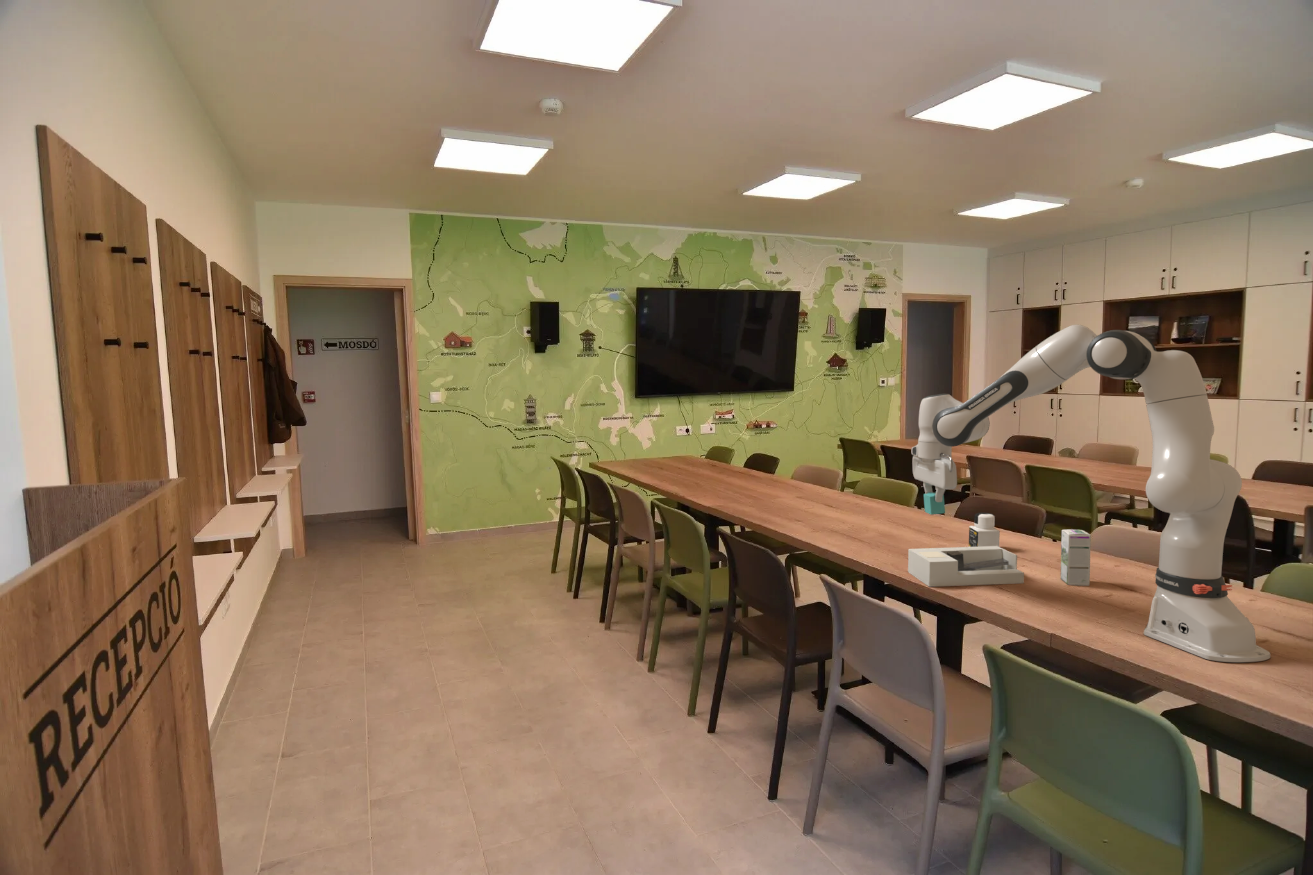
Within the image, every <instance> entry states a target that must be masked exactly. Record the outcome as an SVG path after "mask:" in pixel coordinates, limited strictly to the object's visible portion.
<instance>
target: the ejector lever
mask: <svg viewBox="0 0 1313 875" xmlns="http://www.w3.org/2000/svg"><path fill="white" fill-rule="evenodd" d="M947 555H948V556H950V557H952V558H953V559H955V560H957V561H958V571H965V570H972V569H979V568H987V567H994V566H1002V565H1009V562H1008V561H1007V560H1005V559H996V560H988V561H981V562H973V563H966V564H964V561H963V554H962V553H961V552H959V551H953V552H947Z"/></svg>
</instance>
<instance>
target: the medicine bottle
mask: <svg viewBox="0 0 1313 875" xmlns="http://www.w3.org/2000/svg"><path fill="white" fill-rule="evenodd" d="M995 517H996V516H995V515H994V514H993V513H989V512H977V513H975V514H974V521H973V522H974V523H973V524H974V525H969V527H968V547H981V546H998V547H1000V536H1001V535H1000V534H1001V533H1000V530H999V529H997V528H995V521H996V520H995V519H996V518H995Z"/></svg>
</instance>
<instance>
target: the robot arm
mask: <svg viewBox="0 0 1313 875" xmlns="http://www.w3.org/2000/svg"><path fill="white" fill-rule="evenodd" d="M1088 368H1091V369H1092V370H1093V371H1094V372H1096V373H1097V374H1099V375H1100V376H1103V377H1108V378H1110V379H1114V380H1136V382H1138V383H1139V385H1140V386H1141V389H1142V392H1143V396H1144V400H1145V405H1146V411H1147V416H1148V421H1149V427H1150V431H1151V438H1152V451H1151V454H1152V455H1151V468H1150V469H1151V471H1150V475H1149V476H1148V479H1147V481H1146V484H1145V495H1146V497H1147V500H1148V501H1149V503H1150V504H1151V505H1152V506H1153V507H1154V508H1156V509H1158V510H1160V511H1162V512H1164V513H1166V514H1167V513H1168V514H1169V517H1168V520H1167V522H1166V525H1165V527H1164V528H1163V529H1162V532H1161V533H1160V538H1159V540H1160V542H1159V554H1158V556H1159V558H1158V560H1159V561H1158V567H1157V568H1156V569H1155V570H1156V571H1155V574H1154V575H1155V576H1154V577H1155V583H1154V584H1156V591H1155V593H1154V596H1153V597H1152V601H1151V605H1150V613H1149V616H1148V621H1147V625H1146V627H1145V628H1144V629H1143V634H1144V635H1145V636H1146V637H1149V638H1151V639H1154V640H1157V641H1160V642H1162V643H1164V644H1167V645H1170V646H1172V647H1175V648H1177V649H1180V650H1183V651H1185V652H1187V653H1189V654H1192V655H1195V656H1198V657H1200V658H1202V659H1206V660H1208V661H1209V660H1210V661H1213V662H1214V661H1216V662H1224V663H1255V662H1262V661H1267V660H1269V659H1271V652H1269V650H1267V649H1265V648H1263V647H1261V646H1259V645H1257V642H1256V641H1257V640H1256V639H1257V638H1256V636H1257V635H1256V631H1255V627H1254V625H1253V623H1252V622H1251V621H1250V620H1249V618H1248V617H1247V616H1245V615H1244V614H1243V613H1242V612H1241V610H1240V609H1239V608H1238V607H1237V606H1236V605H1235V603H1234V602H1233V601H1232V600H1231V598H1230V597H1229V596H1228V595H1229V593H1228V591H1232V590H1233V589H1232V587H1233V585H1232V584H1226V582H1225V578H1224V576H1223V575H1222V567H1223V557H1224V556H1223V555H1224V554H1223V553H1224V544H1225V543H1224V542H1225V538H1226V534H1227V529H1228V527H1229V523H1230V520H1231V517H1232V513H1233V509H1234V505H1235V502H1236V499H1237V497H1238V495H1239V494H1240V492H1241V491H1242V487H1243V480H1242V476H1241V475H1240V473H1239V472H1238V470H1237V469H1236V468H1235V467H1233V466H1232V465H1230V464H1228V463H1226V462H1225V461H1221V460H1220V461H1219V460H1215V459H1211V444H1212V438H1213V436H1214V433H1215V426H1214V420H1213V417H1212V412H1211V408H1210V402H1209V398H1208V395H1207V394H1208V393H1207V389H1206V385H1205V382H1204V379H1203V377H1202V374H1201V372H1200V369H1199V367H1198V365H1197V363H1196V360H1195V358H1194V357H1193V356H1192V355H1191V354H1190V353H1188V352H1186V351H1183V350H1177V349H1171V350H1169V349H1168V350H1164V351H1157V348H1156V347H1155V345H1154V343H1153V342H1152V341H1151V340H1149V338H1147V337H1145V336H1143V335H1140V334H1138V333H1136V332H1134V331H1129V330H1122V329H1112V330H1107V331H1104V332H1102V333H1100V334H1096V333H1095V332H1094V331H1093V330H1092V329H1090V328H1089V327H1087V326H1084V325H1081V324H1071V325H1070V326H1067V327H1065V328H1062V329H1061V330H1059V331H1057V332H1055V333H1053V334H1052V335H1050V336H1049V337H1047V338H1046V339H1044V340H1043V341H1040V343H1039V344H1037V345H1035V347H1033V348H1032V349H1031V350H1029V351H1028V352H1027V353H1026V354H1024V355H1023V356H1022V357H1021V358H1020V359H1019V360H1018V361H1017V362H1015V363H1014V364H1013V365H1012V366H1011V367H1010V368H1009V369H1008V370H1006V372H1005V373H1003V374H1002V375H1001V376H1000V377H998V378H997V379H996V380H995V381H993V382H992V383H991V384H989V385H988V386H986V387H985V388H984V389H982V390H981V391H979V392H977V393H976V394H975V395H973V396H972V397H971V398H969V399H968V400H966V401H964V402H962V401H961V400H960V401H959V400H958V399H956V398H954V397H953V396H952V395H950V393H938V394H933V395H932V394H931V395H927V396H925V397H924V398H922V399H921V401H920V405H919V411H918V429H919V436H918V439H917V444H916V445H914V446H912V447H911V455H912V460H911V461H912V463H911V464H912V474H913V475H912V476H913V477H914V479H915V480H916V481H917V480H918V481H920V482H923V484H922V485H923V489H924V492H925V493H924V494H928V493H936V494H935V495H934V501H936V502H942V497H943V495H944V494H945V492H946V490H955V489H956V488H957V486H958V476H957V475H958V474H957V465H956V463H955V462H954V460H953V459H952V451H953V450H952V449H953V447H958V446H960V445H961V446H962V445H963V444H966V443H970V442H974V441H978V440H980V439H982V438H983V437H984V436H986V435H987V433H988V432H989V429H990V426H991V425H990V418H989V417H990V416H992V415H993V414H996V412H998V411H1000V409H1002V408H1004V407H1006V406H1007V405H1009V404H1011V403H1013V402H1017V401H1019V400H1022V399H1027V398H1031V397H1036V396H1039V395H1042V394H1044V393H1047V392H1049V391H1051V390H1053V389H1056V388H1057V387H1059V386H1060V385H1062V384H1064V383H1065V382H1066V381H1068V380H1069V379H1071V378H1072V377H1074V376H1075V375H1076V374H1077V373H1080V372H1081V371H1083V370H1085V369H1088ZM932 486H934V487H935V490H936V491H935V492H934V491H933V487H932Z"/></svg>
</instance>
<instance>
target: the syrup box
mask: <svg viewBox="0 0 1313 875" xmlns="http://www.w3.org/2000/svg"><path fill="white" fill-rule="evenodd" d="M1091 537H1092V534H1090V533H1088V532H1087V531H1085V530H1083V529H1073V528H1071V529H1062V530H1061V541H1060V542H1061V544H1060V549H1061V550H1060V580H1062V581H1063V582H1064V583H1065V584H1066V585H1067V586H1078V587H1079V586H1080V587H1081V586H1082V587H1083V586H1084V587H1089V586H1090V582H1091V578H1090V576H1091V545H1092V544H1091V540H1092V538H1091Z"/></svg>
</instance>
